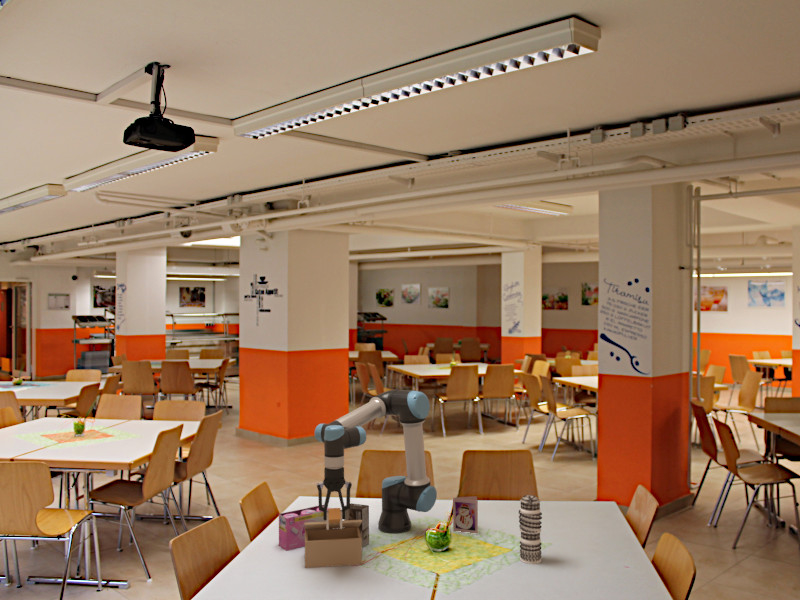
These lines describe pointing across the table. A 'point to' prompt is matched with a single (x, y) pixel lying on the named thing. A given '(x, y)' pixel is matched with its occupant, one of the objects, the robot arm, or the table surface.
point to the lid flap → (333, 521)
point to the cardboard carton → (333, 547)
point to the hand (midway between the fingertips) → (334, 528)
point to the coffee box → (360, 514)
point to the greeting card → (465, 514)
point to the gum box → (297, 526)
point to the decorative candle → (530, 529)
